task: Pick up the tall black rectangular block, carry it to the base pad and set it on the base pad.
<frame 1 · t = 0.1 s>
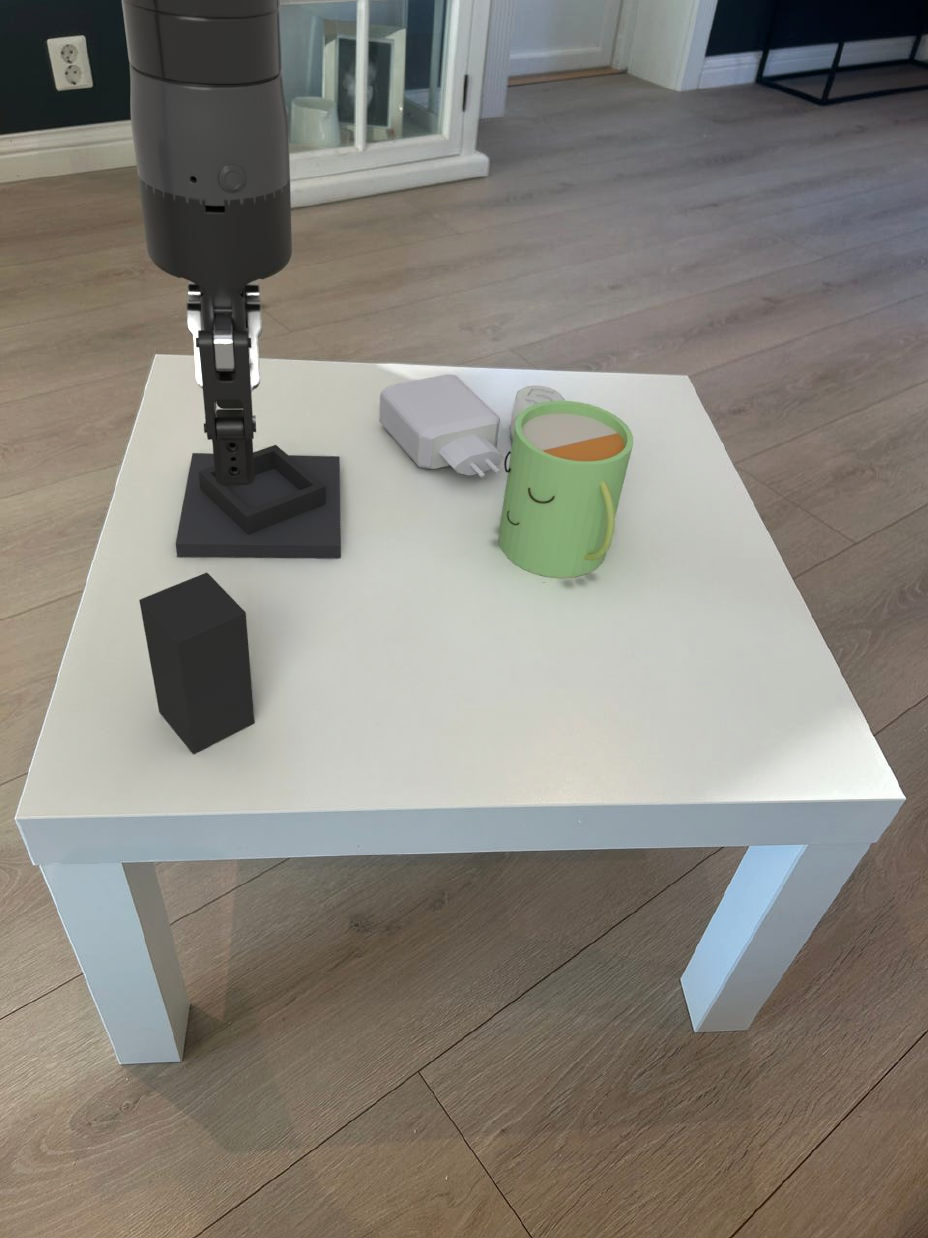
hand: (235, 442, 60), 21 cm above the table, tool pointing down, fingers open, 8 cm apart
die: (533, 440, 103), on the table
base pad: (263, 510, 89), on the table
tall black rectangular block: (206, 717, 70), on the table
charger: (450, 456, 99), on the table
mug: (557, 552, 89), on the table
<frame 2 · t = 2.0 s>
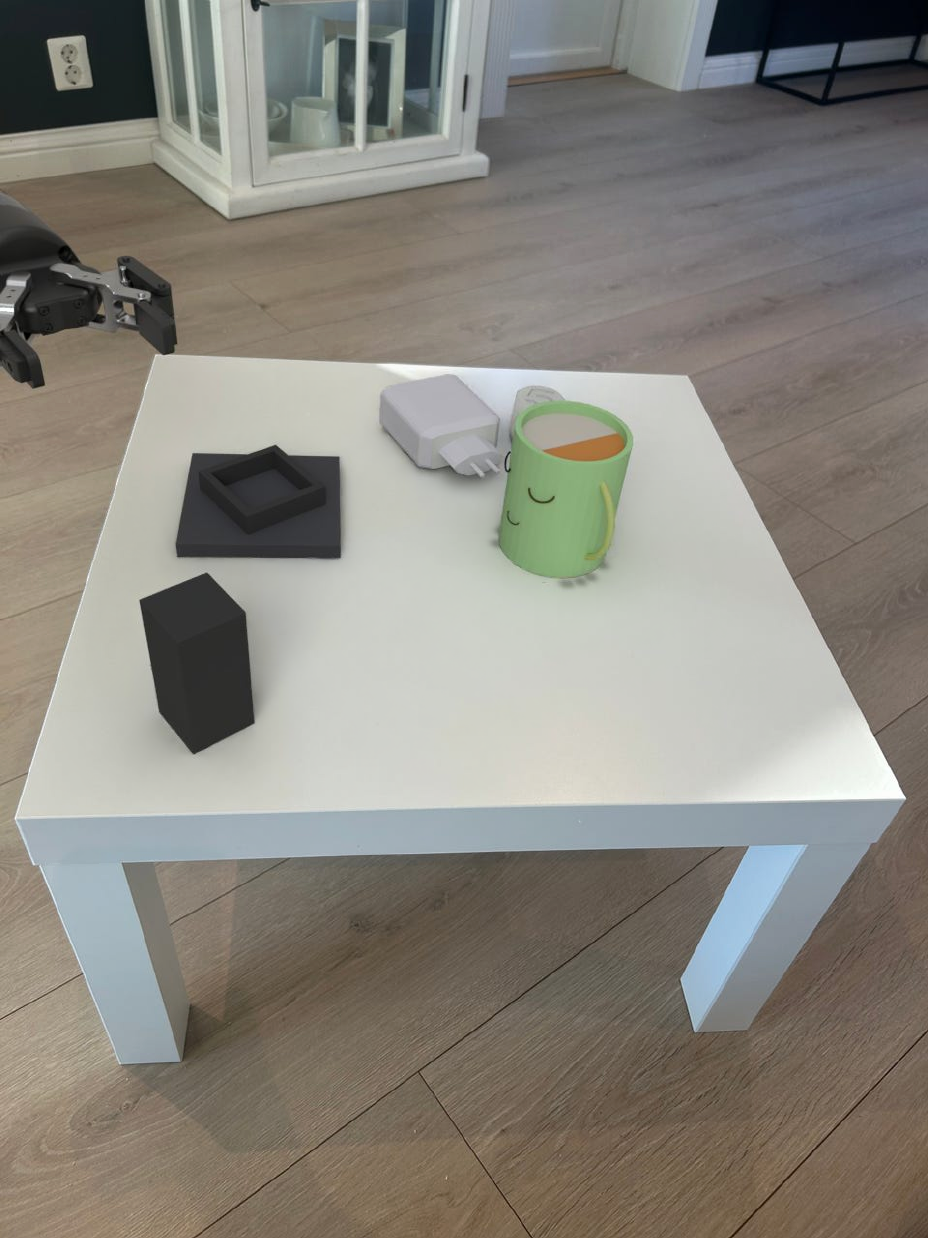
hand: (105, 356, 60), 24 cm above the table, tool horizontal, fingers open, 8 cm apart
nothing on the table moved.
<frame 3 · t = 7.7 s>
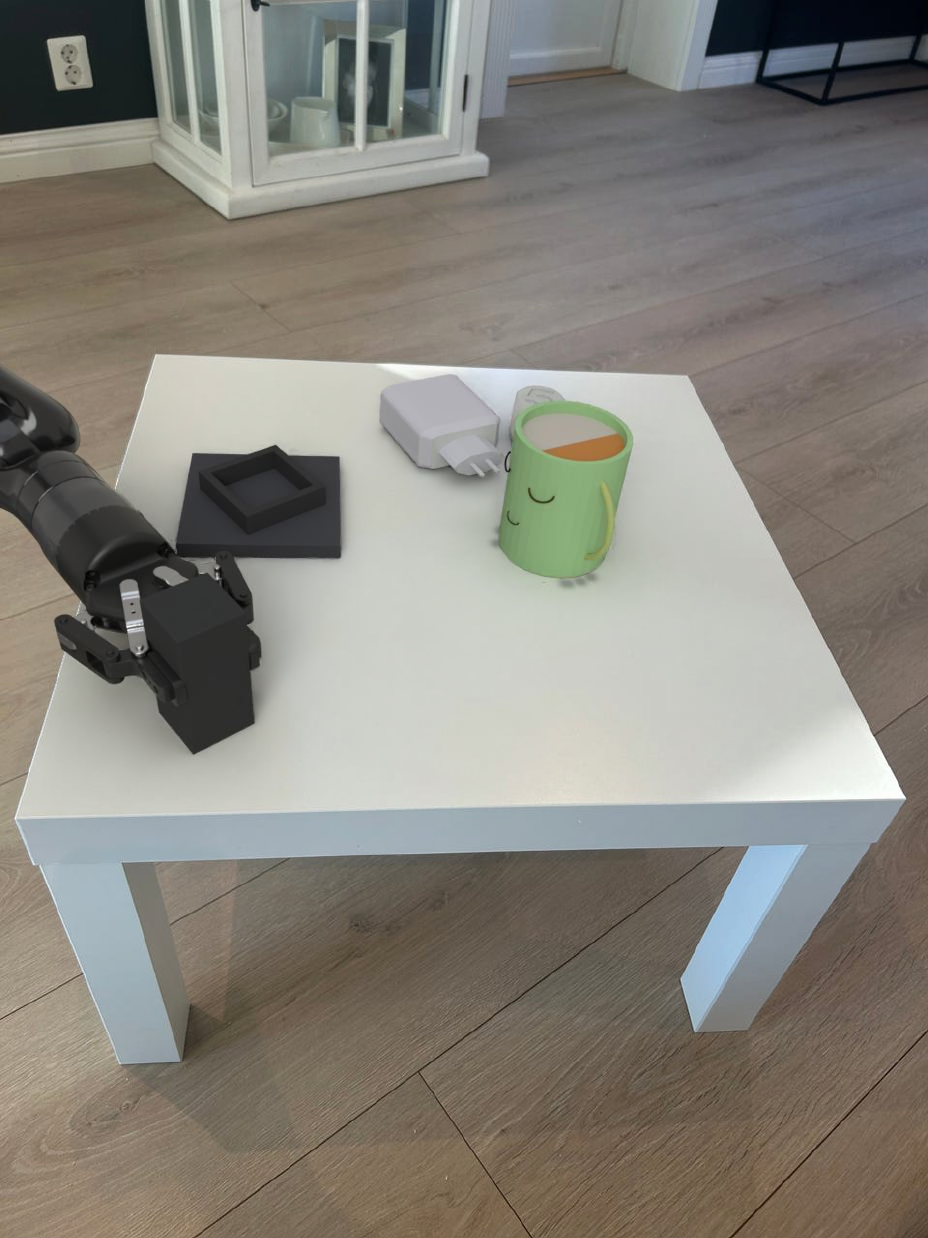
hand: (218, 677, 65), 7 cm above the table, tool horizontal, fingers closed on tall black rectangular block, 5 cm apart
tall black rectangular block: (206, 717, 70), on the table, touching gripper
everything else where it was.
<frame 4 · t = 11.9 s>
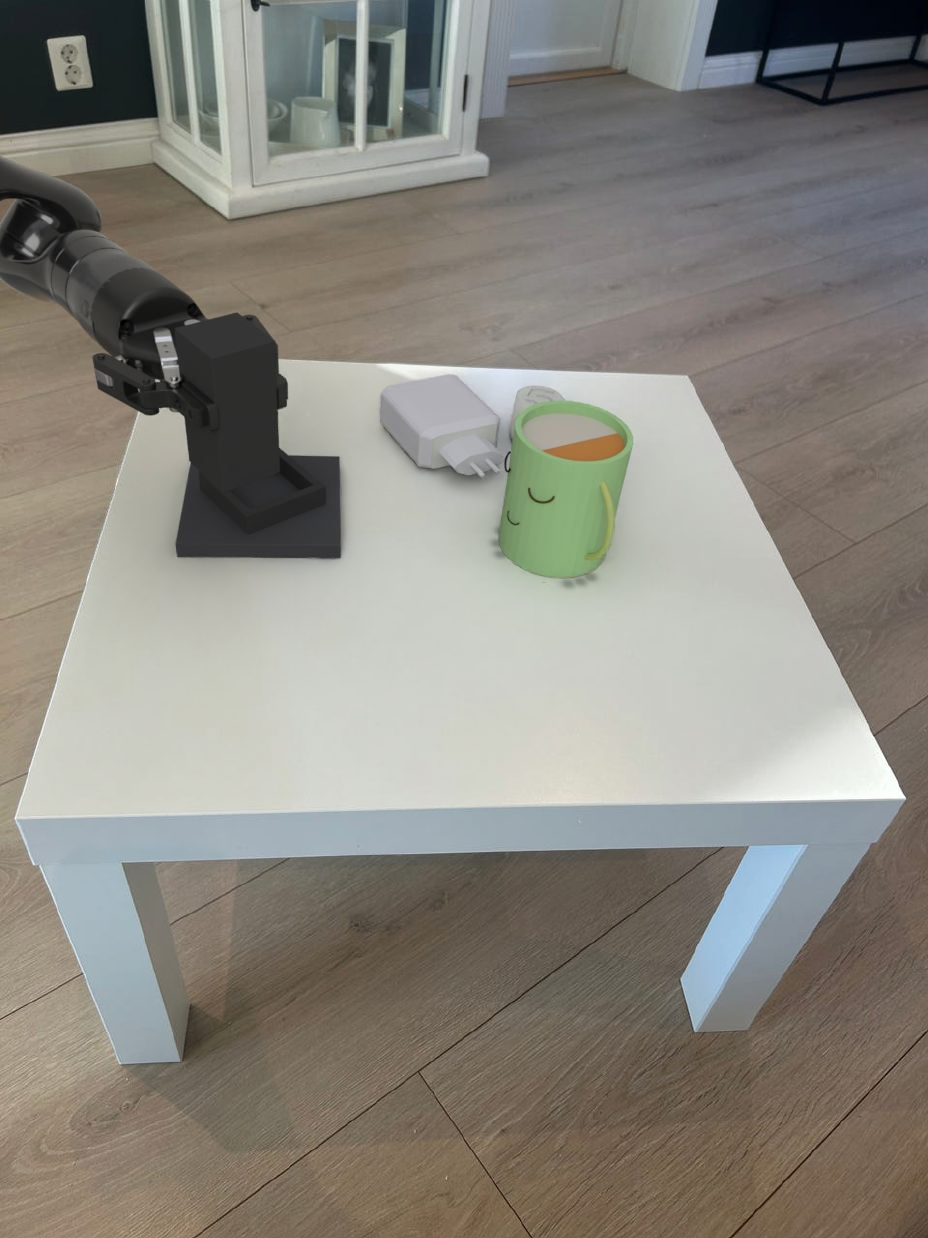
hand: (248, 407, 69), 18 cm above the table, tool horizontal, fingers closed on tall black rectangular block, 5 cm apart
tall black rectangular block: (234, 466, 74), point 11 cm above the table, touching gripper
everything else where it was.
when the fingers open (8 cm above the table, at t = 16.4 s): tall black rectangular block stays where it is, resting on base pad.
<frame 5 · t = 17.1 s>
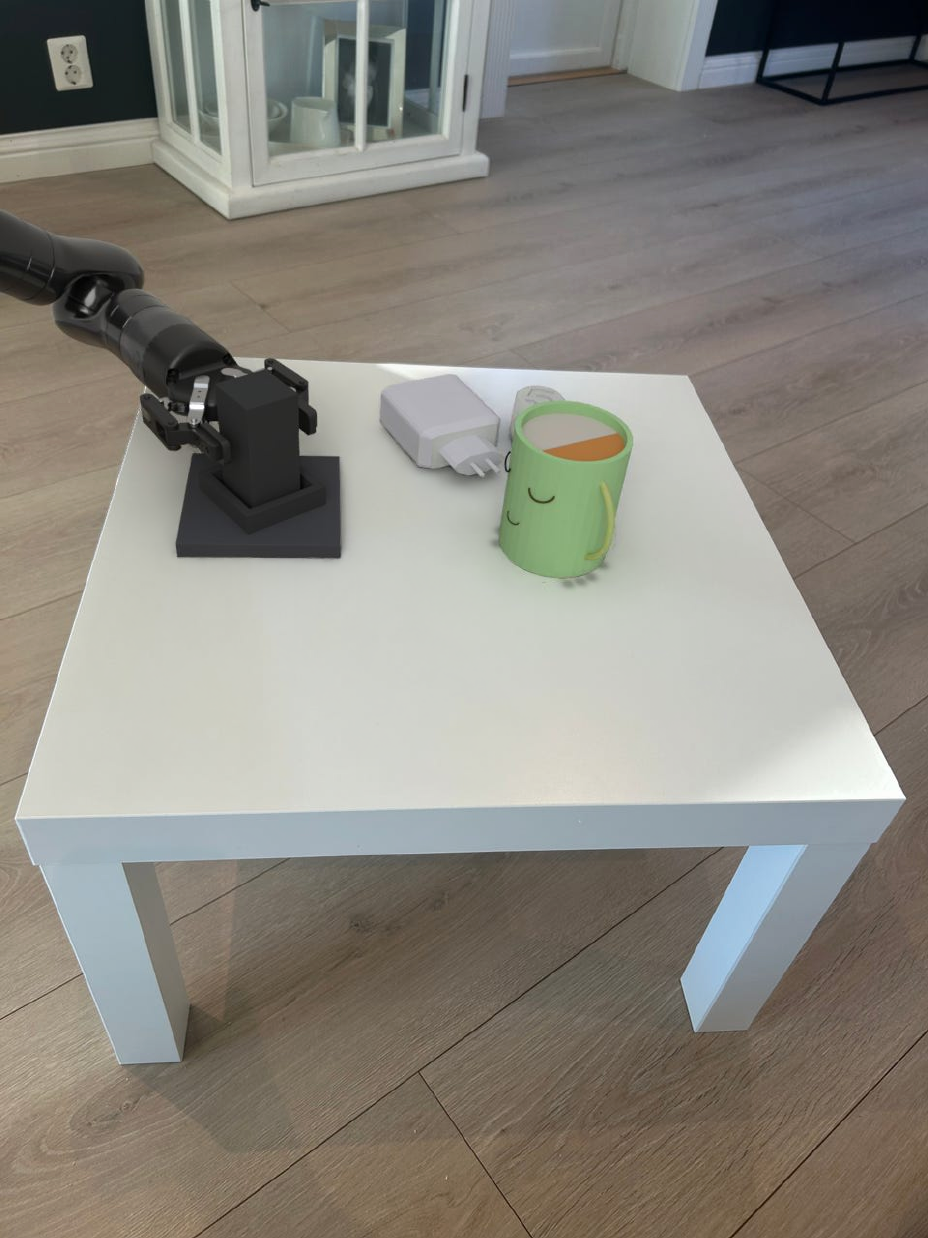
hand: (271, 439, 83), 9 cm above the table, tool horizontal, fingers open, 8 cm apart
tall black rectangular block: (262, 495, 88), point 1 cm above the table, touching base pad
everything else where it was.
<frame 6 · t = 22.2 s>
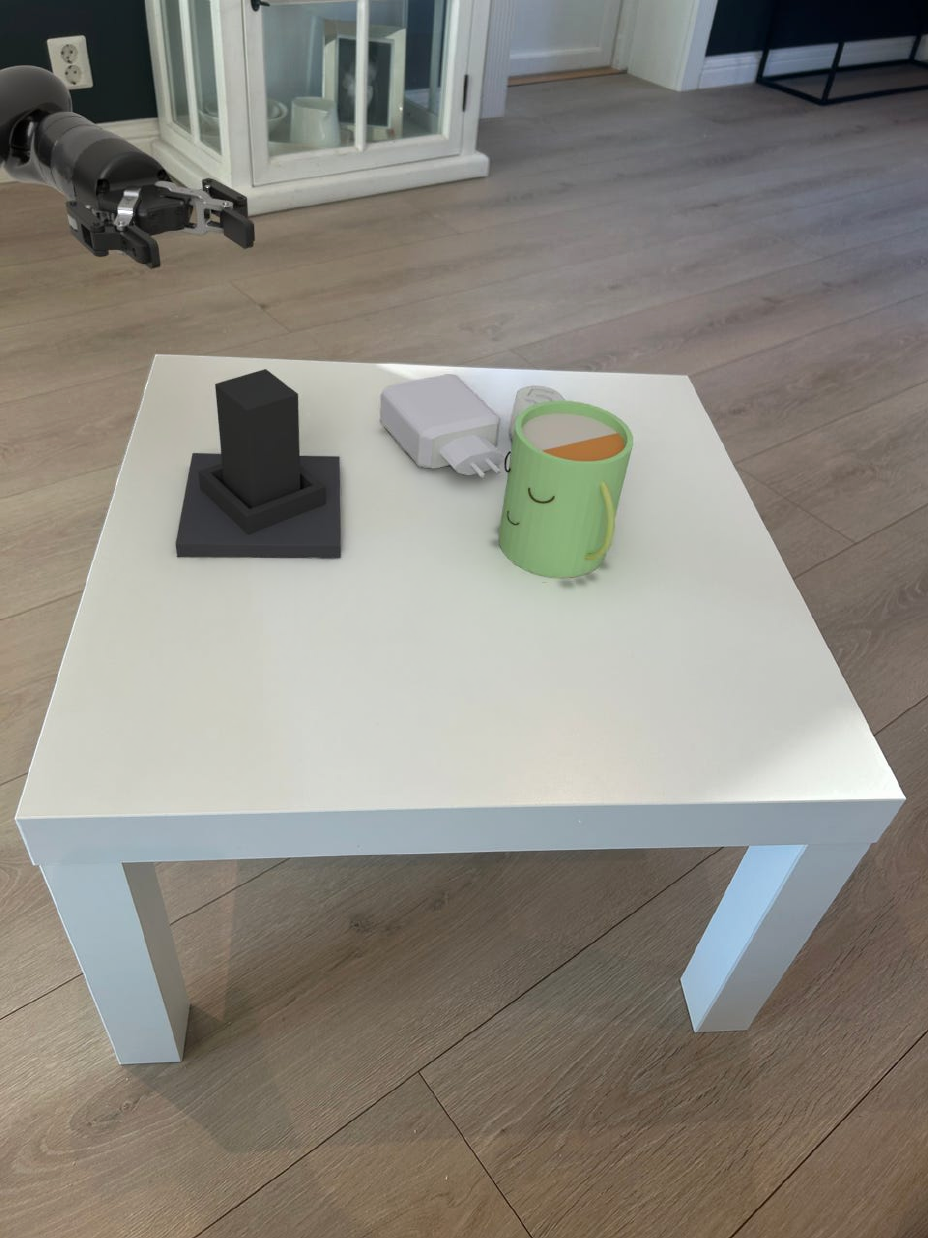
hand: (203, 246, 78), 22 cm above the table, tool horizontal, fingers open, 8 cm apart
nothing on the table moved.
at the end: tall black rectangular block 0.1 cm off-centre on the base pad, point 1.5 cm above the base pad's base; tall black rectangular block tilted 0°; the gripper is holding nothing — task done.
